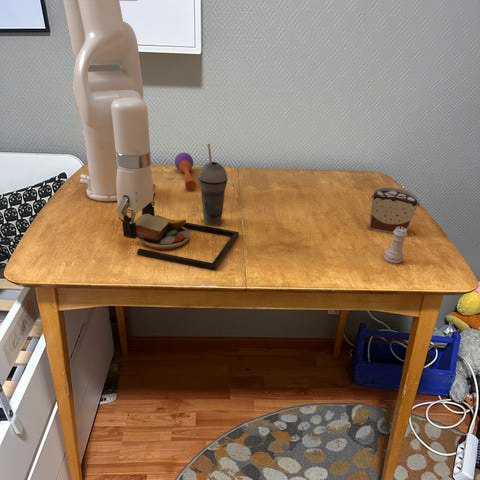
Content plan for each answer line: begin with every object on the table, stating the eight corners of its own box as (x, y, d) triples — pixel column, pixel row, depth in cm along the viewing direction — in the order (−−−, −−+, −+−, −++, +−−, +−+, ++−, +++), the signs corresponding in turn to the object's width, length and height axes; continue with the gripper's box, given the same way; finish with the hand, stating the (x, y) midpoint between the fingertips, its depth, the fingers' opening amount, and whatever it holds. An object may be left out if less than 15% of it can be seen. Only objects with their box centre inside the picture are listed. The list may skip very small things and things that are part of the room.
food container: (412, 227, 127) (422, 191, 121) (410, 236, 123) (421, 200, 116) (366, 218, 130) (374, 183, 124) (363, 227, 125) (371, 191, 119)
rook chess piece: (380, 255, 114) (388, 224, 109) (398, 255, 114) (407, 224, 109) (386, 264, 110) (395, 233, 105) (405, 264, 110) (414, 233, 106)
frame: (137, 254, 108) (137, 250, 107) (169, 223, 122) (169, 219, 121) (214, 270, 104) (215, 265, 103) (238, 236, 118) (239, 231, 117)
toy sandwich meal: (175, 255, 109) (174, 237, 106) (125, 243, 112) (123, 225, 109) (198, 233, 118) (198, 216, 115) (151, 223, 122) (150, 205, 119)
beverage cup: (222, 229, 121) (224, 150, 109) (195, 225, 122) (194, 147, 110) (229, 217, 126) (231, 141, 114) (202, 214, 127) (202, 138, 115)
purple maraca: (179, 178, 137) (172, 151, 151) (183, 196, 141) (176, 168, 156) (198, 174, 137) (190, 147, 152) (202, 192, 141) (193, 165, 156)
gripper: (136, 146, 112) (142, 212, 122) (98, 168, 99) (108, 241, 109) (165, 150, 110) (168, 217, 121) (130, 174, 97) (137, 247, 107)
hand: (139, 228), depth 115 cm, fingers open, 9 cm apart
